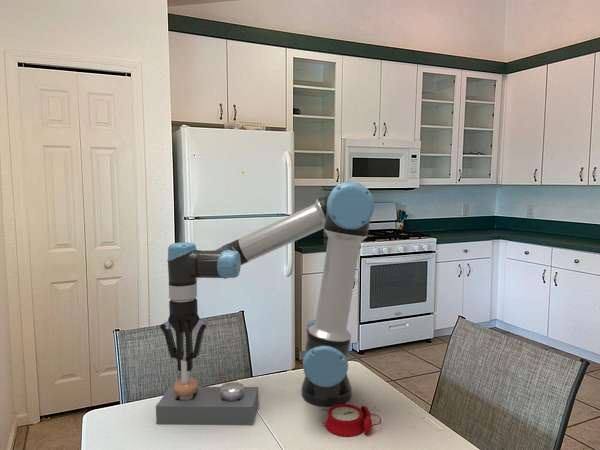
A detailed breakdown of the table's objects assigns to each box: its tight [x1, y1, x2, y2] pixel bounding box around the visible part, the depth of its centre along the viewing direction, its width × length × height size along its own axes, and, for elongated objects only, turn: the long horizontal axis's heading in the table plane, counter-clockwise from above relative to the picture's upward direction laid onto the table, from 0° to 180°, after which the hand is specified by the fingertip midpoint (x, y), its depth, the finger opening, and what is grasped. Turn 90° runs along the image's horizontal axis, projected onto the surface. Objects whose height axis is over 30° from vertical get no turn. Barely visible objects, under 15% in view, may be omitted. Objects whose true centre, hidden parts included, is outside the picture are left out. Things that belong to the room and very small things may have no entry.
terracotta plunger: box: [173, 377, 199, 400], centre depth 126 cm, size 6×6×7 cm
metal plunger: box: [220, 381, 245, 401], centre depth 125 cm, size 6×6×7 cm
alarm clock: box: [322, 403, 382, 438], centre depth 118 cm, size 10×6×15 cm
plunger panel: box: [155, 386, 260, 426], centre depth 126 cm, size 26×12×5 cm, turn 88°
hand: (185, 381), depth 125 cm, fingers closed
